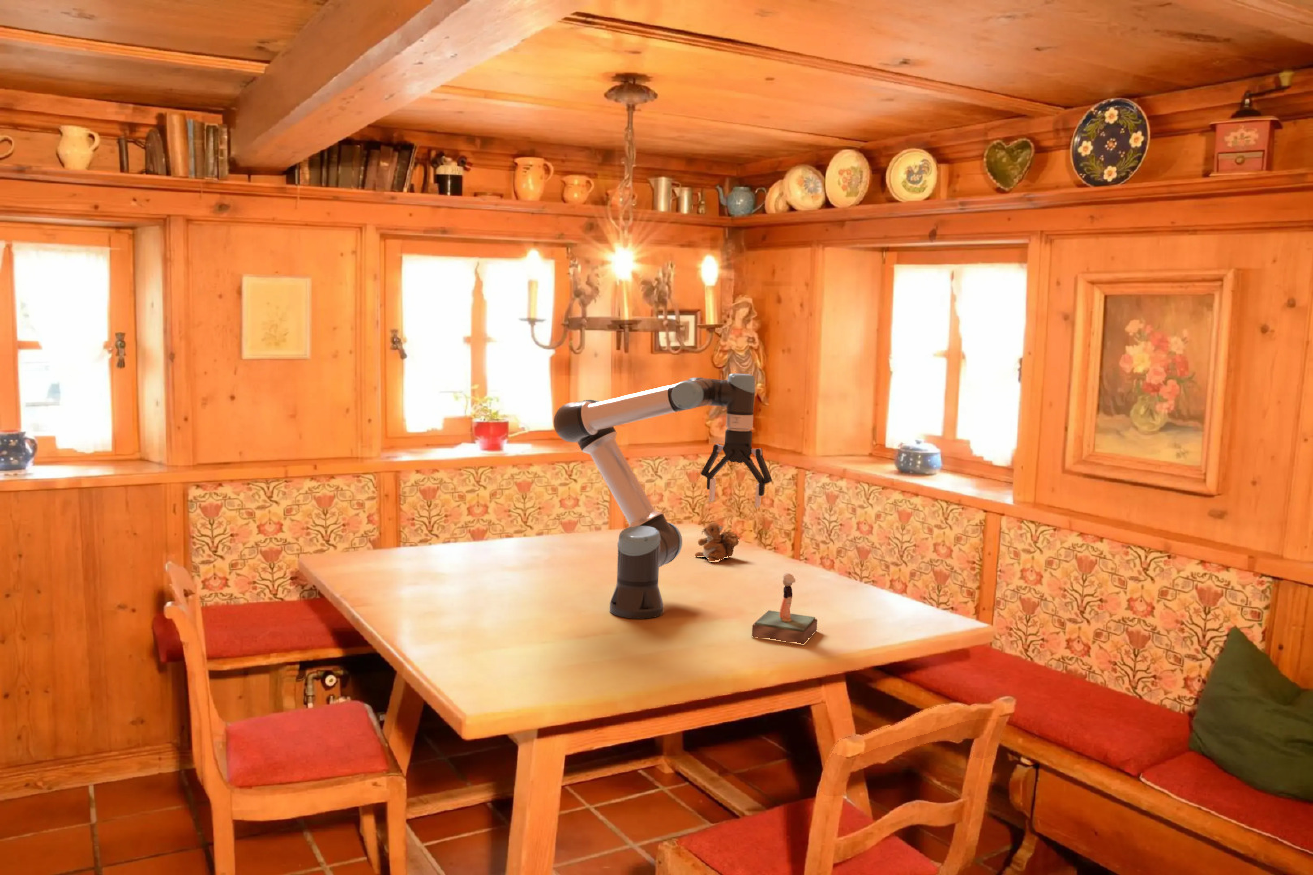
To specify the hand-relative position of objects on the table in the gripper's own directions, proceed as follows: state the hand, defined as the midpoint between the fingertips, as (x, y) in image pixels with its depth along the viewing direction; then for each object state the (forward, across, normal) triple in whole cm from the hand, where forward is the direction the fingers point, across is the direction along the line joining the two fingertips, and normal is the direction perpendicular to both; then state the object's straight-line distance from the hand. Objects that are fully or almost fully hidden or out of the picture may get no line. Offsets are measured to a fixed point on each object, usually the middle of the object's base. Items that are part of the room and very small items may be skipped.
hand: (734, 504), depth 295 cm
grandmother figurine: (+27, +21, -13) cm, 36 cm away
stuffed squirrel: (+32, -25, +60) cm, 72 cm away
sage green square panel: (+31, +20, -12) cm, 39 cm away
